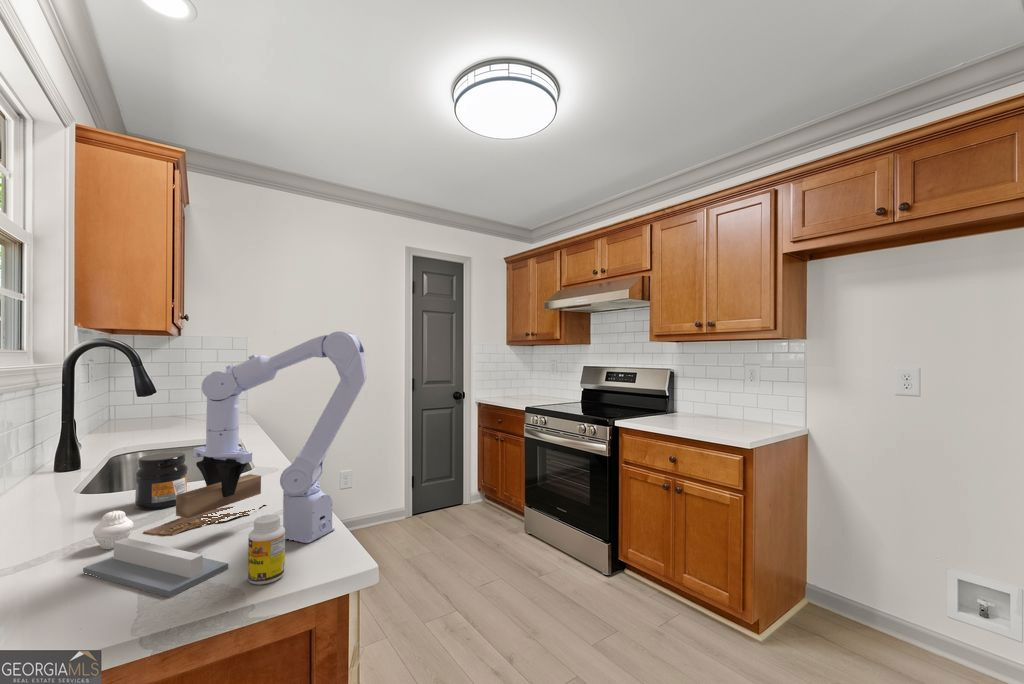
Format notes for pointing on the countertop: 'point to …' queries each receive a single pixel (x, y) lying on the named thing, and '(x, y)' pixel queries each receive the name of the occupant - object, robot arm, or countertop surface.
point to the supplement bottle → (266, 550)
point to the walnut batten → (215, 496)
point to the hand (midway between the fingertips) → (221, 494)
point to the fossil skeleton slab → (189, 523)
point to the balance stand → (155, 567)
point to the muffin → (112, 529)
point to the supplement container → (160, 480)
